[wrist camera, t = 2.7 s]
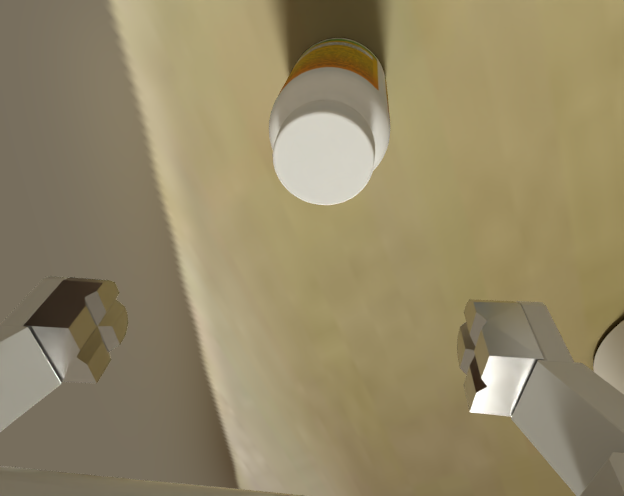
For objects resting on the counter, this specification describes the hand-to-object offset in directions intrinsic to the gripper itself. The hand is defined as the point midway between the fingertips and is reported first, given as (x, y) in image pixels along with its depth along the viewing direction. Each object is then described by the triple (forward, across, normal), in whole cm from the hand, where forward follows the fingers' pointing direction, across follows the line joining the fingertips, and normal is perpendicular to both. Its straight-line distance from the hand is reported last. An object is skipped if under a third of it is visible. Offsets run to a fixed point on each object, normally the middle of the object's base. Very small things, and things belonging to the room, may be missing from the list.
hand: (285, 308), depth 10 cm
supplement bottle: (+18, 0, 0) cm, 18 cm away
